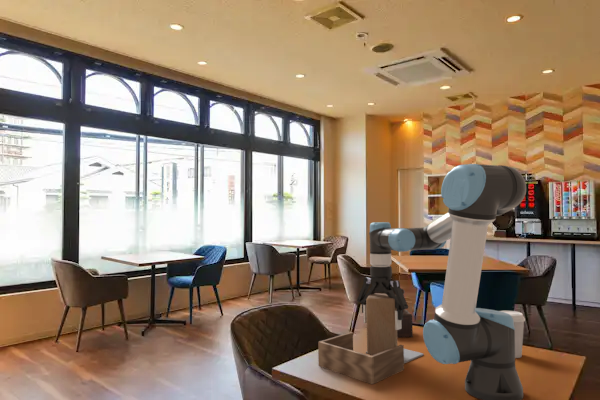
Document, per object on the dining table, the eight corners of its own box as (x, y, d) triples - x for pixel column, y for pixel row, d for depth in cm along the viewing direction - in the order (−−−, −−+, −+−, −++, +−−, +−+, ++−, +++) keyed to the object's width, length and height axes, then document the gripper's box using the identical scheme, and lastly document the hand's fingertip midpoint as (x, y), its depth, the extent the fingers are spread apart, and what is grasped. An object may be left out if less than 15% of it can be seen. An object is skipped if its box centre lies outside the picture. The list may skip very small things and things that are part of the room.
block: (396, 358, 144) (395, 298, 145) (366, 355, 147) (365, 297, 148) (397, 349, 154) (396, 293, 155) (369, 347, 157) (368, 292, 157)
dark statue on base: (415, 337, 176) (414, 293, 177) (388, 338, 176) (387, 294, 177) (404, 327, 192) (403, 287, 193) (380, 328, 191) (379, 287, 192)
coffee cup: (500, 358, 149) (498, 315, 150) (494, 350, 159) (493, 309, 159) (529, 360, 147) (528, 316, 148) (522, 351, 157) (521, 310, 157)
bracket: (404, 369, 139) (403, 345, 140) (372, 384, 128) (371, 357, 128) (351, 354, 156) (350, 332, 156) (318, 365, 144) (318, 341, 145)
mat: (423, 355, 154) (423, 353, 154) (403, 364, 145) (403, 362, 145) (386, 345, 166) (386, 344, 166) (365, 353, 157) (365, 351, 157)
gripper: (417, 267, 145) (419, 330, 144) (359, 262, 163) (360, 318, 162) (405, 269, 140) (406, 334, 139) (347, 263, 158) (348, 321, 157)
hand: (382, 325), depth 151 cm, fingers closed on block, 13 cm apart
